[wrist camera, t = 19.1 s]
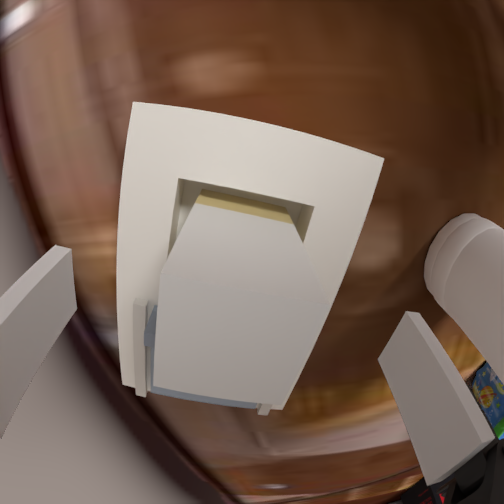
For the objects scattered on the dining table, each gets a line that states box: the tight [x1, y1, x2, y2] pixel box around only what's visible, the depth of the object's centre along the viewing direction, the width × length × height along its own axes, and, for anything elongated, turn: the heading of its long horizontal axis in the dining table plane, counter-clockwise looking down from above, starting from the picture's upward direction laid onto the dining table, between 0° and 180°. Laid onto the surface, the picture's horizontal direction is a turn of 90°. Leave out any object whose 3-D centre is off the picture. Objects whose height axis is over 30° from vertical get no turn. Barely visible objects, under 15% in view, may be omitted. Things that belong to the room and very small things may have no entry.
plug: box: [153, 189, 331, 405], centre depth 14 cm, size 5×5×10 cm
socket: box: [117, 102, 384, 415], centre depth 19 cm, size 20×13×4 cm, turn 167°
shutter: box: [144, 305, 257, 409], centre depth 18 cm, size 8×8×3 cm
